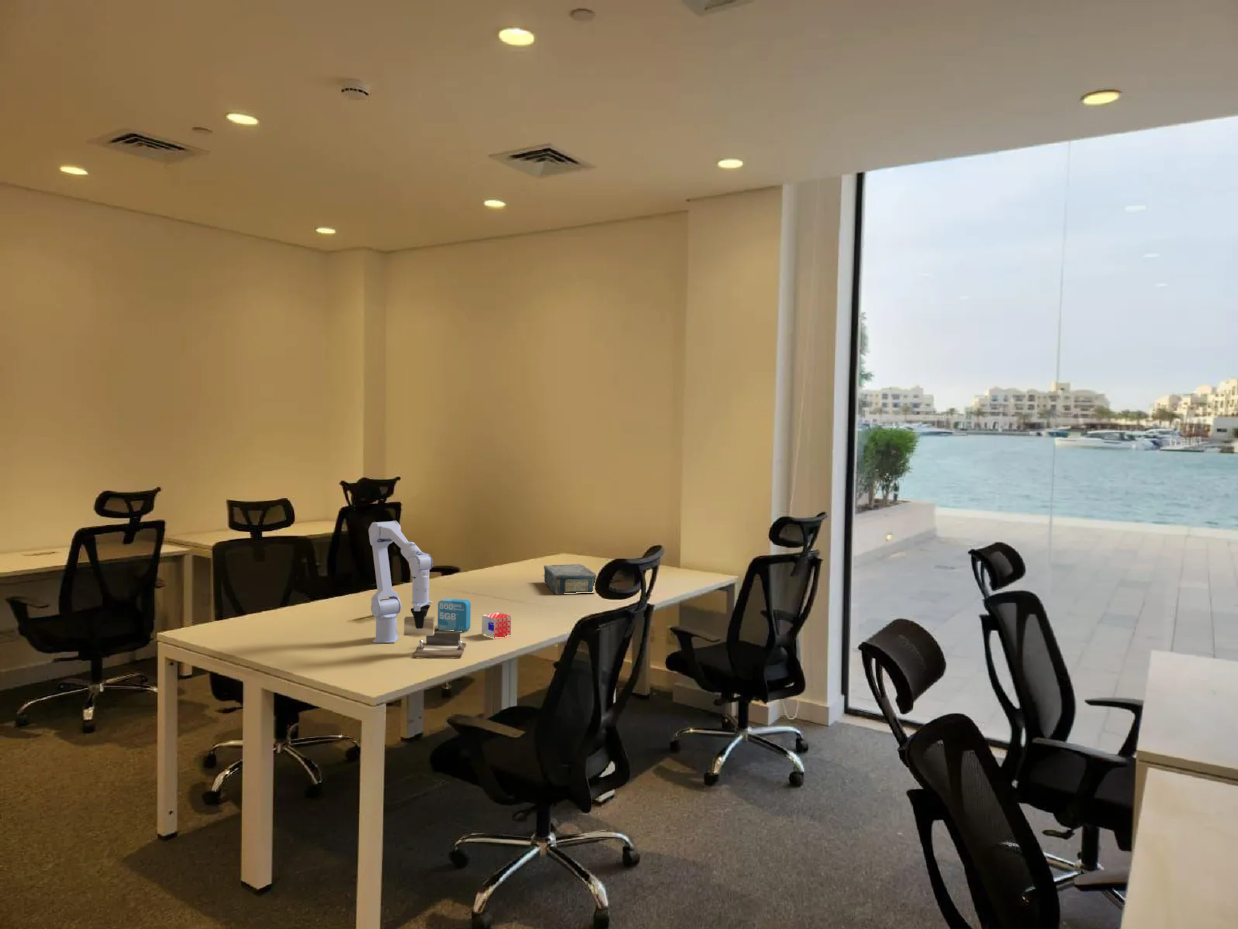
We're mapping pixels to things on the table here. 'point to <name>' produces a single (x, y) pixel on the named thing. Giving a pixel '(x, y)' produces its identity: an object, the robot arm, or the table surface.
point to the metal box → (569, 578)
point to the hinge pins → (422, 644)
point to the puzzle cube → (496, 625)
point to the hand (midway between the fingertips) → (420, 627)
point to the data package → (454, 614)
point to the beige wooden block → (425, 631)
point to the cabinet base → (441, 645)
